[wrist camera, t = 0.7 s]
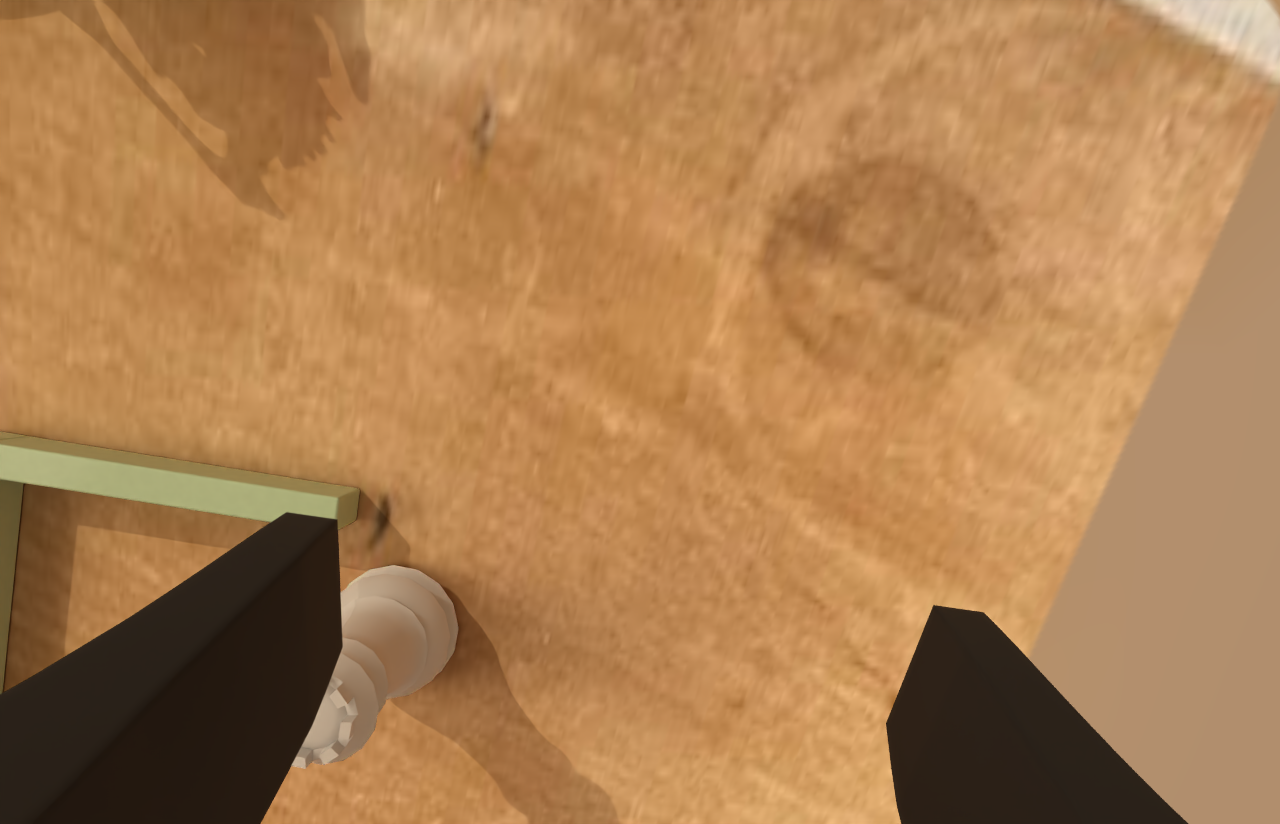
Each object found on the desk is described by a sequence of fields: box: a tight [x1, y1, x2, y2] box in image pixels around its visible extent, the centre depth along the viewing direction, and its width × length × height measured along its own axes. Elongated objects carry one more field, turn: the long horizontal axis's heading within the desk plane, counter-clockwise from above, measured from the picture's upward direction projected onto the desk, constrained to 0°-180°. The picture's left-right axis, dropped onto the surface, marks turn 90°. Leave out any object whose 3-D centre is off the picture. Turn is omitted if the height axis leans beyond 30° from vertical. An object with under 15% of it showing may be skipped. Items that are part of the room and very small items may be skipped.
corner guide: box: [0, 431, 360, 694], centre depth 29 cm, size 15×13×2 cm
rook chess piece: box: [291, 565, 458, 769], centre depth 26 cm, size 4×4×8 cm
